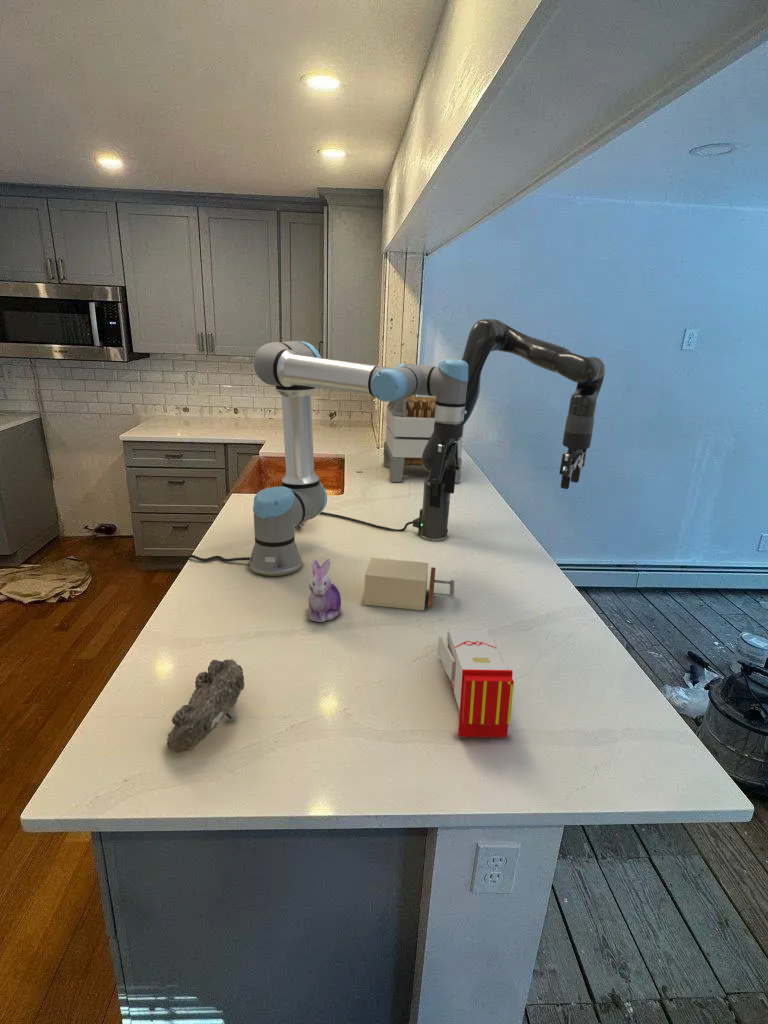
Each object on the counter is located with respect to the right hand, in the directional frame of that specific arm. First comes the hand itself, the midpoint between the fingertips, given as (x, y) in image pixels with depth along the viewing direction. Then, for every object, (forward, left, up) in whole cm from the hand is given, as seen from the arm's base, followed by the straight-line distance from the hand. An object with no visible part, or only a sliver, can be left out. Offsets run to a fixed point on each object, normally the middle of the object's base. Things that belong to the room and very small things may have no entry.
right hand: (569, 485), depth 165 cm
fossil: (-29, -106, -29) cm, 114 cm away
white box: (-91, +67, -29) cm, 116 cm away
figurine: (-38, -64, -29) cm, 80 cm away
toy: (+6, -69, -29) cm, 74 cm away
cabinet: (-29, -45, -29) cm, 60 cm away
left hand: (-24, -32, -2) cm, 40 cm away
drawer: (-24, -42, -28) cm, 56 cm away
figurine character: (-87, -23, -29) cm, 95 cm away
